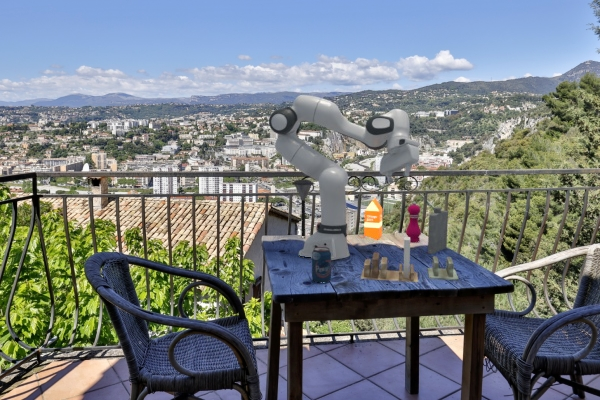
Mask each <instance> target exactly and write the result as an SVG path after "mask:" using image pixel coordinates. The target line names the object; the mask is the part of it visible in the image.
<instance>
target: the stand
mask: <svg viewBox="0 0 600 400" xmlns="http://www.w3.org/2000/svg"><path fill="white" fill-rule="evenodd" d="M445 263H446V265H445V267H446V268H440V267H439V266H440V262H439V259H438V256H432V267H427V268H426V269H427V270H426V271H427V273H428V279H430V280H431V279H432V280H444V281H445V280H446V281H448V280H449V281H459V276H458V274H457V271H456V269H455V268H454V262H453V259H452V257H451V256H447V257H446V262H445Z"/></svg>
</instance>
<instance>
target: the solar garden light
mask: <svg viewBox="0 0 600 400" xmlns="http://www.w3.org/2000/svg"><path fill="white" fill-rule="evenodd" d="M291 185H293V186H294V187H295V189H296V191H297V193H298V195H299V198H300V200H301V205H300V206H301V209H300V210H301V214H300V215H301V237H302V236H305V237H306V198H307V197H308V194H309V192H310V190H311V187H312V185H316V183H314V182H313V181H312V180H310V179H296V180H294V182H292V183H291Z"/></svg>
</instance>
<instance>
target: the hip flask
mask: <svg viewBox="0 0 600 400" xmlns="http://www.w3.org/2000/svg"><path fill="white" fill-rule="evenodd" d="M448 218H449V211H448V210H443V208H442V207H440V206H433V212H432V213H429V214H428V239H427V240H428V241H427V254H429V255H435V254H436V253H439V252H440V251H442V250H446V249H447V245H448V243H447V242H448V225H449V224H448V223H449V219H448Z"/></svg>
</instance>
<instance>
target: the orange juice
mask: <svg viewBox="0 0 600 400" xmlns="http://www.w3.org/2000/svg"><path fill="white" fill-rule="evenodd" d="M363 226H364V227H363V228H364V230H363V231H364V236H367V237H371V238H374V239H373V240H377V239H379V240H380V239H381V238H382V237H383V208H382V206H381V204H380V203H379V202H378V200H377V198H374V199H372V200H371V202H370V203H369V205H368V206H367V207H366V208H365V210H364V225H363ZM381 236H382V237H381ZM380 237H381V238H380Z"/></svg>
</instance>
